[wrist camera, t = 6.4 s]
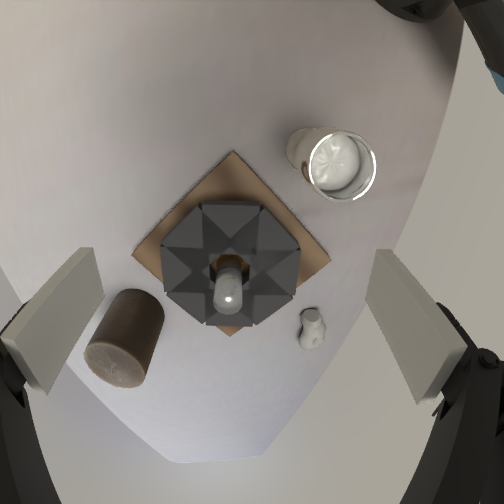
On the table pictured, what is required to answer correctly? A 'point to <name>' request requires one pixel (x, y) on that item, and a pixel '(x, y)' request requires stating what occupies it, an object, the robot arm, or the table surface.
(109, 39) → the table surface
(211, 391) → the table surface
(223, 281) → the steel post
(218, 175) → the walnut base
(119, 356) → the pillar candle
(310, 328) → the smooth white sculpture
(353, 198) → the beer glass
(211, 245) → the dark grey faceted disc
